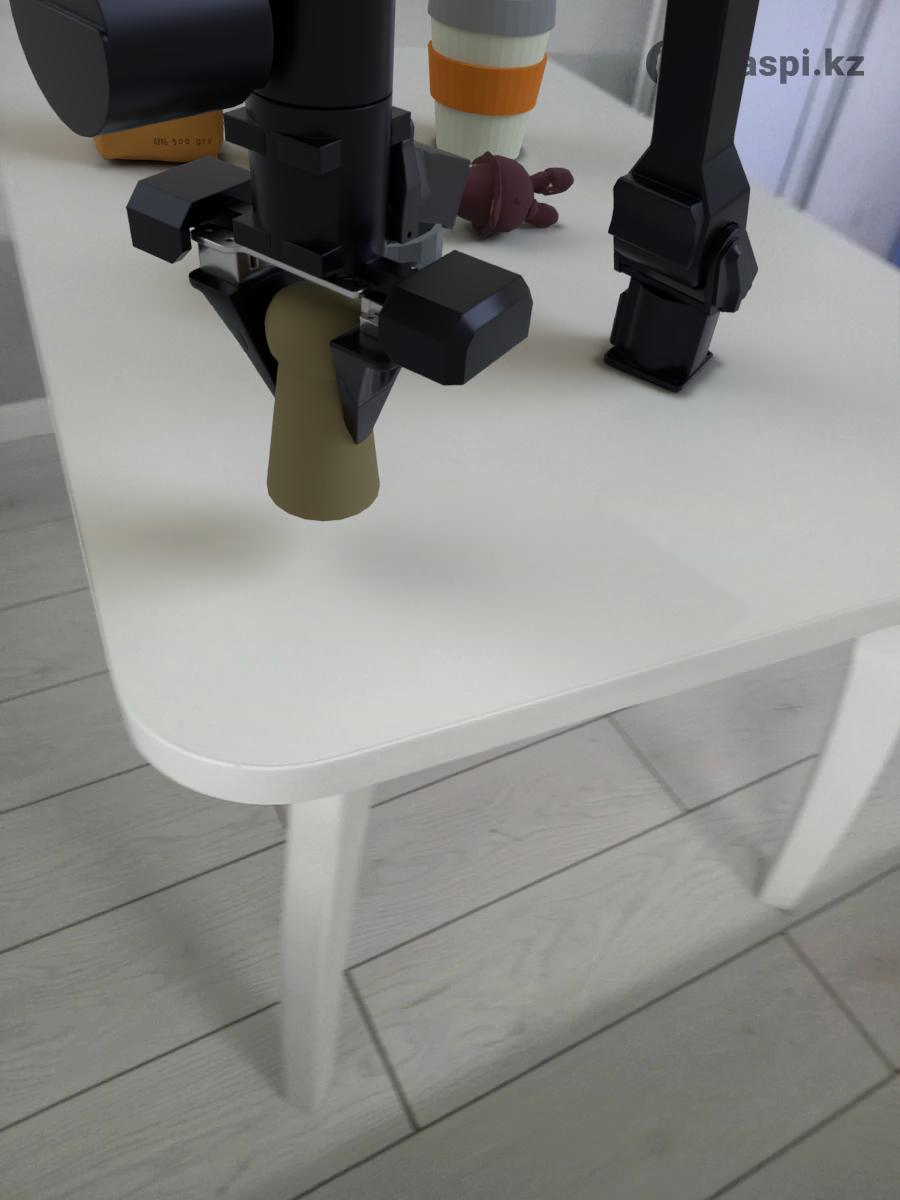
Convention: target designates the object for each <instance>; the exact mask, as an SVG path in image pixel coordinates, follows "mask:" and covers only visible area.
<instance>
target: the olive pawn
mask: <svg viewBox="0 0 900 1200" xmlns="http://www.w3.org/2000/svg"><path fill="white" fill-rule="evenodd" d="M362 313H363V312H361V299H360V298H359V299H352V298H349V297H347V296H345V295H342V294H340V293H338V292H335V291H333V290H331V289H328V288H326V287H324V286H321V285H319V284H316V283H314V282H312V281H309V280H305V281H300V282H296V283H293V284H291V285H289V286H286V287H284V288H282V289H281V290H280V291H279V292H277V293H276V294H275V296H274V297H273V299H272V300H271V302H270V304H269V307H268V309H267V312H266V317H265V321H264V322H265V334H266V338H267V343H268V346H269V348H270V351H271V354H272V355H273V356H274V357H275V358H276V360H277V361H278V371H277V381H276V391H275V398H274V403H273V404H274V405H273V413H272V422H271V423H272V424H271V433H270V444H269V453H268V463H267V475H266V488H267V494H268V496H269V497H270V499H271V500H272V502H273V503H274V505H275V506H277V507H278V508H279V509H281V510H282V511H283V512H285V513H286V514H289V515H291V516H294V517H297V518H300V519H302V520H305V521H306V520H307V521H316V522H331V521H333V522H334V521H342V520H345V519H349V518H351V517H354V516H357V515H359V514H361V513H363V512H364V511H365V510H367V509H368V508H370V507H371V506H372V504H374V502H375V500H376V499H377V498H378V496H379V492H380V487H381V483H380V475H379V474H380V473H379V466H378V459H377V449H376V440H375V433H374V429H373V430H372V432H371V434H370V436H369V437H368V438H367V439H365V440H364V441H362V442H361V443H360V444H355V443H354V441H353V439H352V437H351V435H350V433H349V432H348V430H347V428H346V425H345V421H344V416H343V411H342V406H341V401H340V396H339V391H338V386H337V380H336V375H335V371H334V366H333V361H332V356H331V351H330V346H329V341H331V340H332V339H334V338H336V337H337V336H339V335H341V334H342V333H344V332H346V331H347V330H349V329H351V328H352V327H354V326H356V325H357V324H359V318H360V314H362Z"/></svg>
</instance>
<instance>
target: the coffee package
mask: <svg viewBox="0 0 900 1200" xmlns="http://www.w3.org/2000/svg"><path fill="white" fill-rule="evenodd" d="M223 113H224V110H219V111H214V112H210V113H205V114H200V115H195V116H191V117H186V118H181V119H177V120H172V121H167V122H162V123H158V124H153V125H148V126H144V127H139V128H134V129H129V130H125V131H120V132H115V133H111V134H106V135H101V136H96V137H92V140H93V142H94V144H95V147H96V150H97V152H98V154H99V155H100V156H101V158H103V159H104V160H110V159H114V160H117V159H118V160H132V161H133V160H135V161H160V162H169V163H188V162H191V161H194V160H197V159H200V158H202V157H205V156H208V155H209V156H212V157H214V158H217V159H219V153H220V151H221V148H222V146H223V143H224V139H225V130H224V119H223Z"/></svg>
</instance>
